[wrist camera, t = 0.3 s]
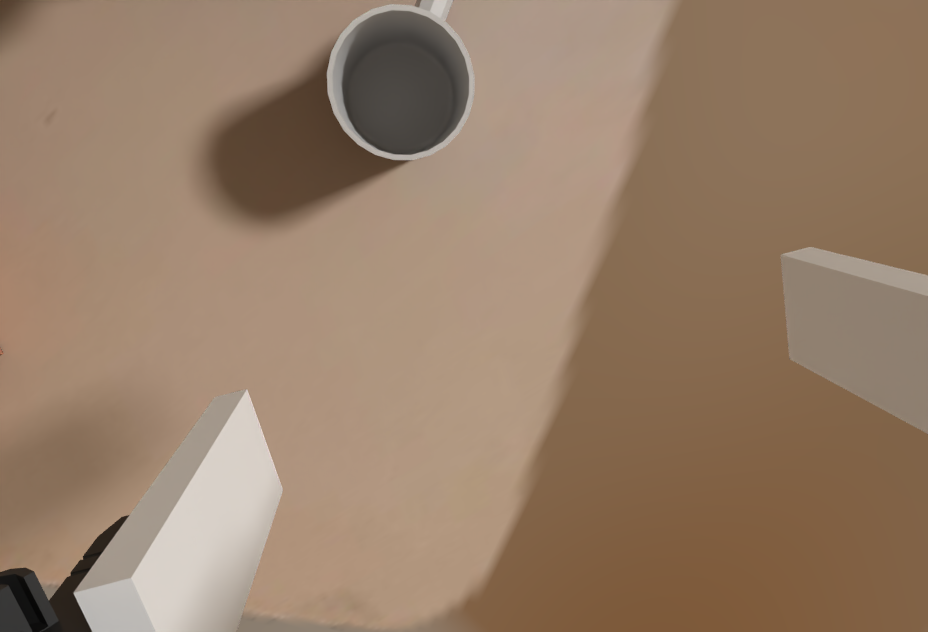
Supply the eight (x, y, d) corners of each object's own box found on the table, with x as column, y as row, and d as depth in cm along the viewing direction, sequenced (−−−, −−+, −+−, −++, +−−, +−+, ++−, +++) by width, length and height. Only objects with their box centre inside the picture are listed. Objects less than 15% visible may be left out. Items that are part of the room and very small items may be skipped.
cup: (325, 130, 39) (305, 124, 31) (383, -30, 37) (379, -85, 29) (432, 176, 40) (441, 183, 32) (493, 24, 39) (521, -13, 30)
